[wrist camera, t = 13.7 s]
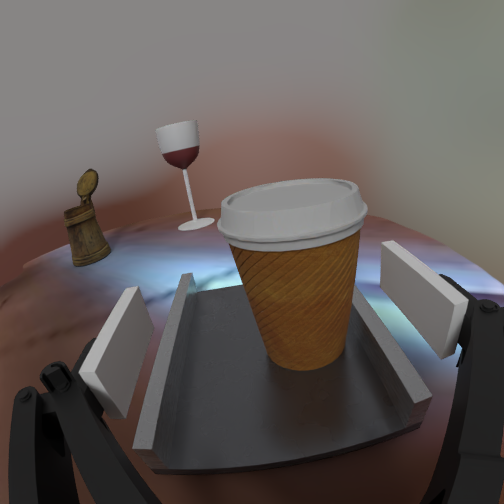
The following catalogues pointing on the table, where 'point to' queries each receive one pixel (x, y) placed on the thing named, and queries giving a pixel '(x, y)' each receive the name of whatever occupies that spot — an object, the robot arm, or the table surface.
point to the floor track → (267, 391)
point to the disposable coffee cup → (297, 264)
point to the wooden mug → (85, 225)
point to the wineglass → (182, 158)
